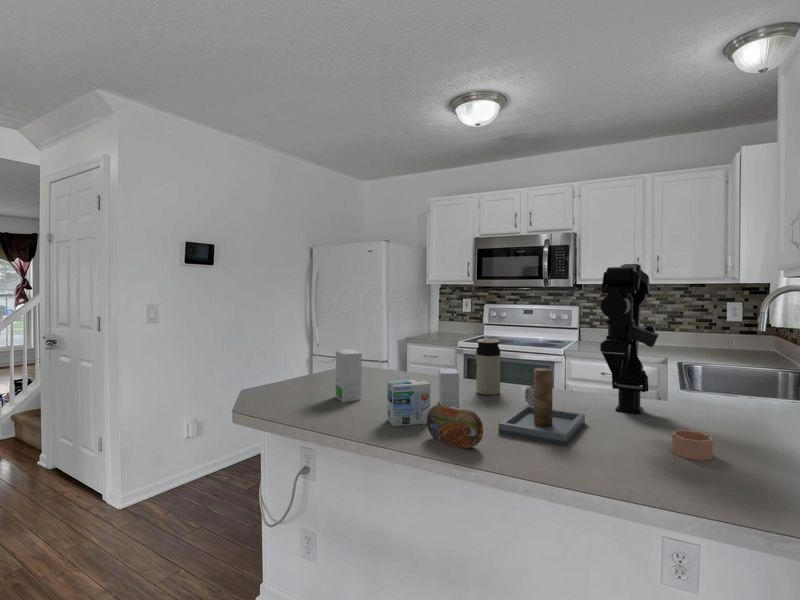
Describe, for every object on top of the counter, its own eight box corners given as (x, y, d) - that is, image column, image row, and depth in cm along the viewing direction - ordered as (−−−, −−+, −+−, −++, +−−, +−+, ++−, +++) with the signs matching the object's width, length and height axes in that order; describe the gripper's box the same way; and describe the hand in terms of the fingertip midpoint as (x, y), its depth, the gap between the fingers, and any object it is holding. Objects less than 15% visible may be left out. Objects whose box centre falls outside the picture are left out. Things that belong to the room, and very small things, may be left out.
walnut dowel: (549, 421, 117) (549, 368, 117) (554, 427, 113) (555, 371, 112) (531, 421, 117) (531, 368, 117) (536, 427, 113) (537, 371, 112)
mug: (557, 412, 130) (557, 389, 129) (538, 414, 127) (538, 391, 127) (534, 403, 139) (534, 382, 139) (516, 406, 136) (516, 384, 136)
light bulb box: (392, 427, 117) (392, 386, 116) (386, 419, 123) (386, 380, 123) (431, 423, 120) (431, 383, 119) (423, 416, 126) (423, 378, 126)
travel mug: (503, 391, 155) (503, 339, 154) (495, 396, 148) (495, 342, 147) (481, 389, 159) (481, 338, 158) (472, 393, 152) (472, 340, 152)
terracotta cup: (673, 445, 102) (673, 428, 102) (712, 451, 98) (712, 433, 98) (671, 455, 96) (671, 437, 96) (712, 462, 92) (712, 443, 92)
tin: (426, 437, 109) (425, 402, 109) (434, 434, 111) (434, 400, 111) (477, 453, 98) (476, 415, 98) (485, 449, 100) (485, 412, 100)
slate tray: (525, 413, 128) (525, 405, 128) (584, 423, 119) (584, 413, 119) (498, 433, 111) (498, 423, 111) (565, 445, 102) (565, 435, 102)
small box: (459, 408, 134) (459, 373, 134) (440, 408, 134) (440, 373, 134) (456, 401, 142) (456, 368, 142) (438, 401, 142) (438, 368, 142)
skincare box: (335, 396, 149) (334, 350, 149) (354, 394, 152) (353, 348, 151) (342, 402, 141) (342, 353, 141) (362, 400, 144) (362, 352, 144)
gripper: (652, 319, 103) (651, 387, 103) (659, 314, 118) (658, 373, 119) (600, 317, 109) (599, 381, 110) (613, 313, 124) (612, 369, 125)
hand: (619, 376), depth 115 cm, fingers open, 9 cm apart
